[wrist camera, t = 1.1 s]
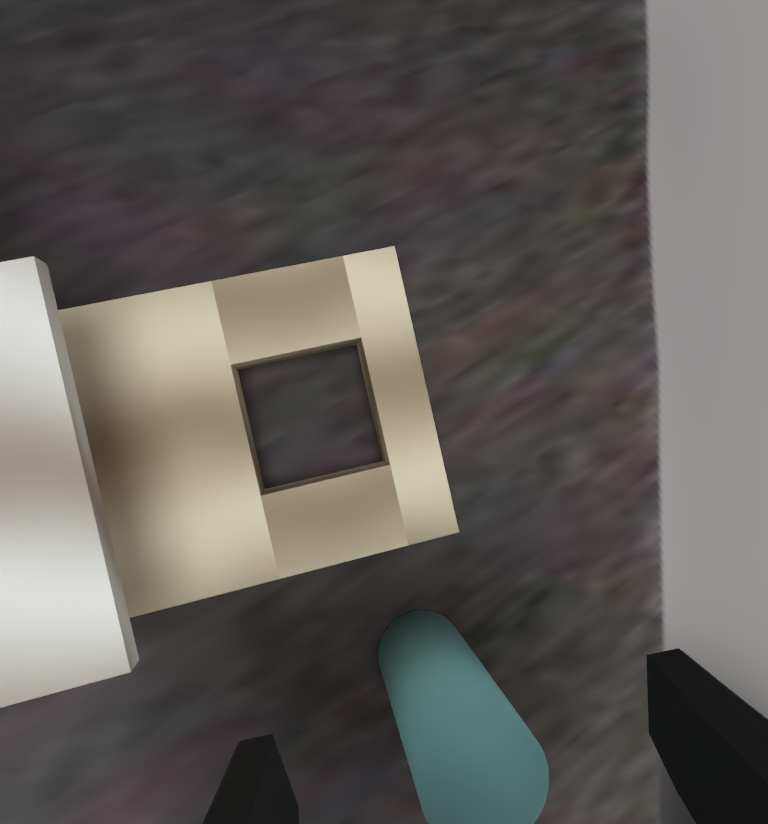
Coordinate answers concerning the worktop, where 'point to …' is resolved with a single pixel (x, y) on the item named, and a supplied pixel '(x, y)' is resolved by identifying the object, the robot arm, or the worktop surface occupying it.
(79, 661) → the station
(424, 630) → the peg
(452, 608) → the worktop surface
